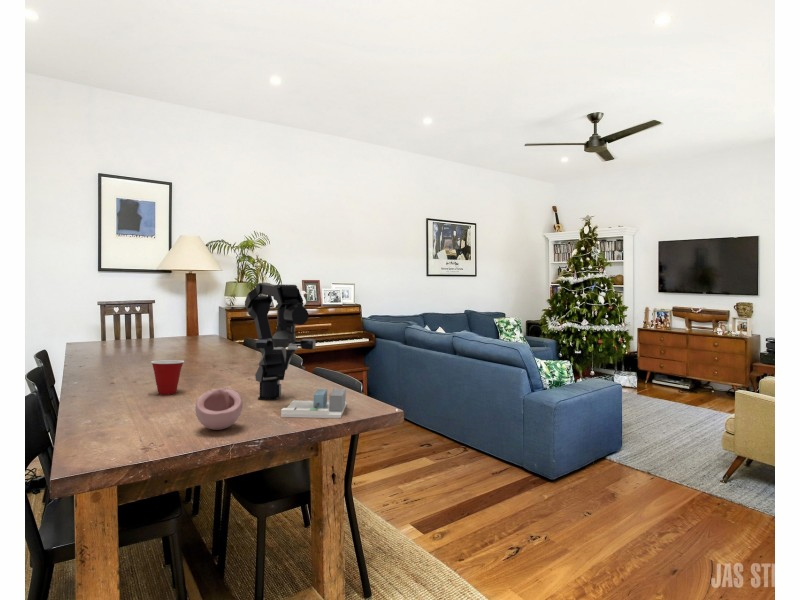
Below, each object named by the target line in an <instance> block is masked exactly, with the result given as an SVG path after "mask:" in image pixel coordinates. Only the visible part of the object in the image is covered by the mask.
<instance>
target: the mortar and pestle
mask: <svg viewBox="0 0 800 600" xmlns="http://www.w3.org/2000/svg"><path fill="white" fill-rule="evenodd" d="M194 410H195V415H196V416H195V417H196V418H197V420H198V422H199V423H200V424H201V425H203V427H205V428H206V429H210V430H215V431H216V430H217V431H221V430H224V429H227V428H230V427H231V426H233V425H234V424H235V423H236V422H237V421H239V418H240V416H241V414H242V411H243V399H242V397H241V395H240V394H239V393H238V392H237V391H236V390H233V389H229V388H226V387H220V388H216V387H215V388H213V389H208V390H206V391H204V393H202V394H201V395H200V396H199V397H198V398H197V400H196V403H195V409H194Z"/></svg>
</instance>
